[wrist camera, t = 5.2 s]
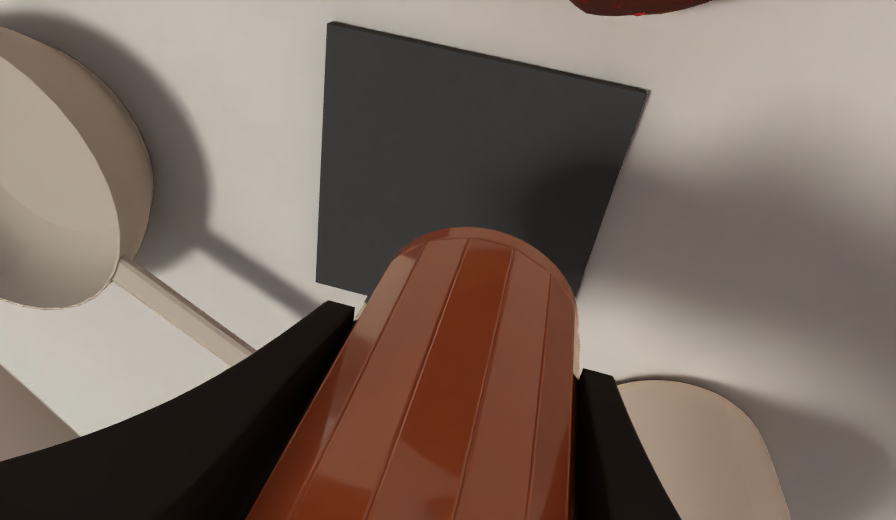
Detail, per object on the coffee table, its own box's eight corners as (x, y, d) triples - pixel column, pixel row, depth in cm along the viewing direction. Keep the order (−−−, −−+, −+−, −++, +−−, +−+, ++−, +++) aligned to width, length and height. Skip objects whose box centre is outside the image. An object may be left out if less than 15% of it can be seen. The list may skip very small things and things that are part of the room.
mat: (558, 339, 23) (558, 346, 22) (319, 277, 24) (315, 282, 23) (646, 89, 17) (647, 93, 17) (331, 21, 18) (326, 23, 18)
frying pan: (-56, -67, 19) (-185, -63, 16) (380, 247, 22) (345, 304, 19) (-83, 164, 25) (-183, 201, 22) (267, 391, 28) (225, 453, 25)
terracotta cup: (548, 412, 15) (516, 798, 9) (369, 362, 16) (207, 695, 9) (606, 256, 13) (626, 645, 6) (389, 202, 13) (179, 506, 6)
